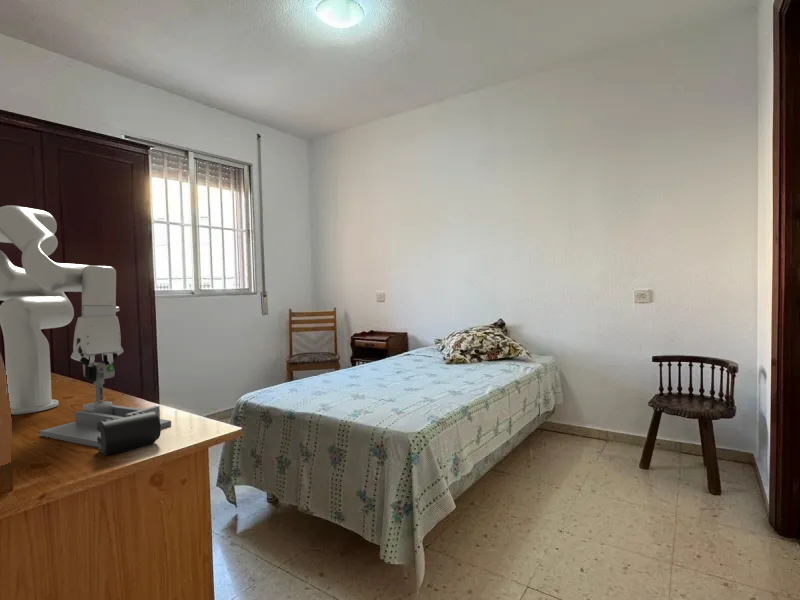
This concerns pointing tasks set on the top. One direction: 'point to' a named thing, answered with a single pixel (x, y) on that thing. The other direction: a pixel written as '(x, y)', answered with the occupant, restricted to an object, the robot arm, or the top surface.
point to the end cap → (128, 432)
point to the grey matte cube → (99, 407)
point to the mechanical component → (101, 377)
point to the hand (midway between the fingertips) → (98, 379)
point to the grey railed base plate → (94, 425)
